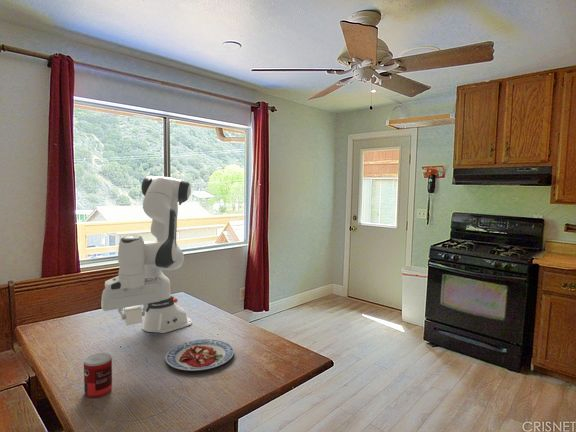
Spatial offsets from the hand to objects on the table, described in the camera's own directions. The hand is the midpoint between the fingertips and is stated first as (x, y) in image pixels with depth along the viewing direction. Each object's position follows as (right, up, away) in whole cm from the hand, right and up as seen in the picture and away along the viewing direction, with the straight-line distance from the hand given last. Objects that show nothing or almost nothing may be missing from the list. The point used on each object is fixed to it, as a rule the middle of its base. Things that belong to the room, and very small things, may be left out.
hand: (133, 317), depth 126 cm
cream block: (0, -2, 0) cm, 2 cm away
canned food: (-4, -20, -15) cm, 25 cm away
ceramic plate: (+23, -19, +9) cm, 31 cm away
